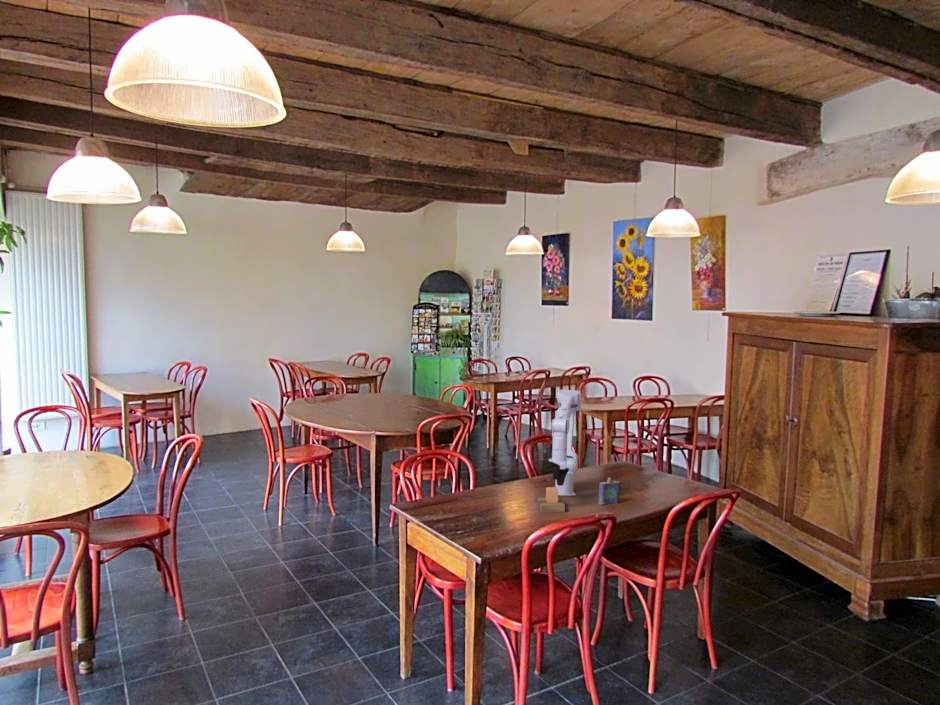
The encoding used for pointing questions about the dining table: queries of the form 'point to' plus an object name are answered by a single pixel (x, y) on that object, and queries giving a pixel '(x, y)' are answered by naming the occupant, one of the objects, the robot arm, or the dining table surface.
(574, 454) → the robot arm
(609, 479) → the flask
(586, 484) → the dining table surface
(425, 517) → the dining table surface
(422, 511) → the dining table surface
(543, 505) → the base
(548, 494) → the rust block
